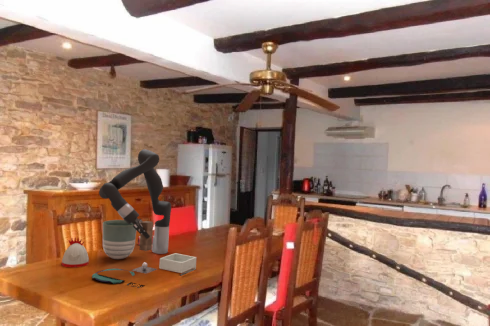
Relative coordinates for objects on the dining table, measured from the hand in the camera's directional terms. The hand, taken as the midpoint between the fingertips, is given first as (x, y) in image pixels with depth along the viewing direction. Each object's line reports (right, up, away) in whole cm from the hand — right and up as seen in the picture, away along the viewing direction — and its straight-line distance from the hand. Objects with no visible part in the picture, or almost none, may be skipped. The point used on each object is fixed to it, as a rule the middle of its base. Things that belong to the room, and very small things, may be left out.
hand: (149, 236), depth 218 cm
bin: (+14, -21, +8) cm, 26 cm away
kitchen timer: (-43, -17, +8) cm, 47 cm away
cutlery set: (-11, -20, -14) cm, 27 cm away
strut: (-2, -7, 0) cm, 8 cm away
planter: (-25, -18, +25) cm, 39 cm away
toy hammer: (-14, -18, +59) cm, 63 cm away
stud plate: (-3, -20, 0) cm, 20 cm away
